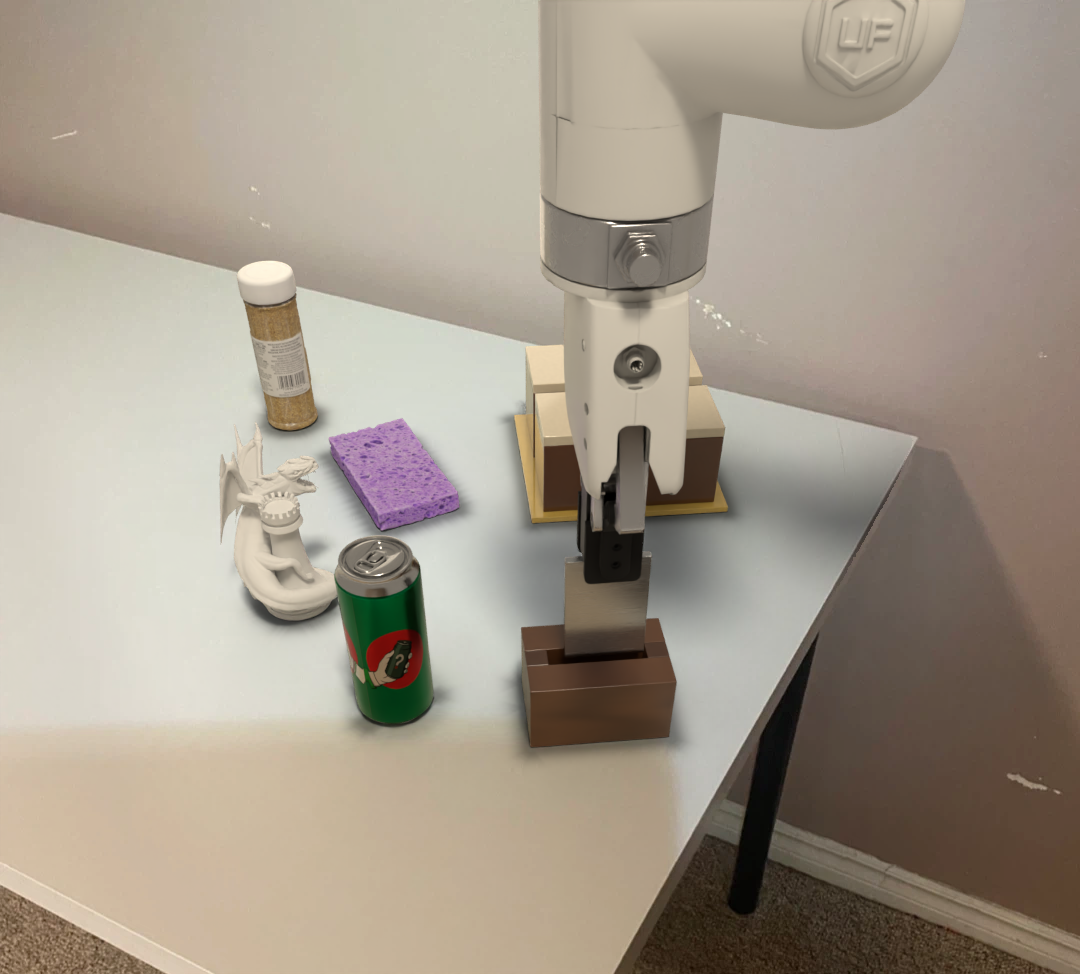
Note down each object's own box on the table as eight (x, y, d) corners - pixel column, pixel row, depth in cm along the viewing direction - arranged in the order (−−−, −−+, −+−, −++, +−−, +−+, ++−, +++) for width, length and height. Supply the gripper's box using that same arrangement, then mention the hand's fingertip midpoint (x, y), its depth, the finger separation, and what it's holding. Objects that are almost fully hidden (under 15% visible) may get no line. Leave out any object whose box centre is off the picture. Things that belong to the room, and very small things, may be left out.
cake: (687, 410, 94) (696, 334, 88) (727, 511, 83) (740, 431, 77) (514, 419, 92) (512, 342, 87) (531, 523, 81) (531, 442, 76)
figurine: (355, 617, 73) (331, 473, 65) (249, 644, 71) (209, 499, 63) (320, 534, 80) (294, 394, 72) (222, 556, 78) (182, 415, 70)
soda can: (448, 692, 68) (436, 547, 60) (404, 740, 65) (384, 595, 57) (387, 665, 70) (366, 521, 61) (342, 711, 67) (313, 566, 58)
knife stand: (652, 672, 70) (658, 617, 66) (669, 737, 66) (677, 681, 62) (521, 682, 69) (521, 626, 65) (530, 747, 65) (530, 692, 61)
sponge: (405, 436, 90) (403, 417, 89) (461, 510, 83) (460, 491, 81) (329, 455, 88) (326, 435, 87) (380, 533, 80) (377, 513, 79)
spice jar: (316, 404, 94) (291, 256, 84) (320, 429, 91) (294, 279, 81) (266, 409, 93) (234, 260, 84) (268, 435, 90) (236, 284, 81)
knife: (640, 638, 64) (654, 468, 55) (645, 660, 63) (661, 488, 54) (562, 645, 64) (563, 474, 55) (565, 666, 63) (568, 495, 54)
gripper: (751, 308, 40) (701, 652, 53) (672, 167, 51) (647, 482, 64) (562, 319, 39) (559, 664, 53) (523, 174, 50) (529, 490, 64)
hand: (608, 562), depth 58 cm, fingers closed on knife, 2 cm apart
